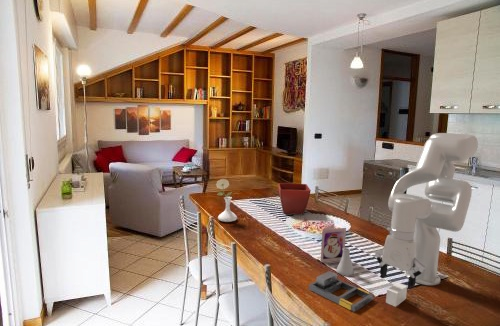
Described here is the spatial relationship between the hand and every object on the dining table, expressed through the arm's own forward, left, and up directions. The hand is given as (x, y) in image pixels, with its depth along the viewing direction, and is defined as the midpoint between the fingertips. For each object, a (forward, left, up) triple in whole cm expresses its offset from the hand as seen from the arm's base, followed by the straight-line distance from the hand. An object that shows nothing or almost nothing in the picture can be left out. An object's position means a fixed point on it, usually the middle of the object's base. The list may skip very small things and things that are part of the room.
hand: (396, 281), depth 121 cm
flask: (-6, -24, -8) cm, 26 cm away
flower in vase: (-9, -107, -8) cm, 108 cm away
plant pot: (-55, -95, -8) cm, 110 cm away
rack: (+11, -15, -7) cm, 20 cm away
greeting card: (-12, -36, -8) cm, 39 cm away
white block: (-1, 0, -8) cm, 8 cm away
